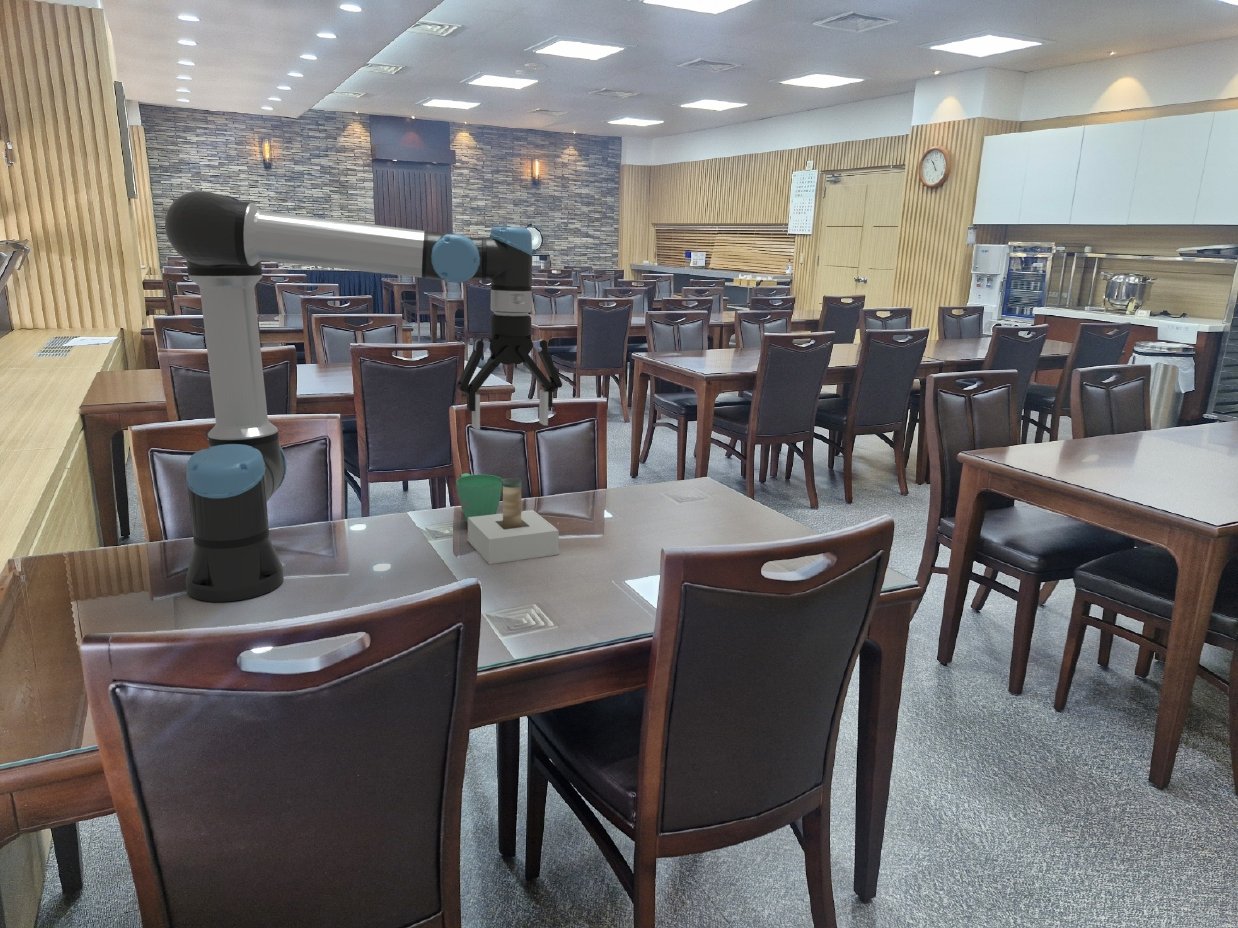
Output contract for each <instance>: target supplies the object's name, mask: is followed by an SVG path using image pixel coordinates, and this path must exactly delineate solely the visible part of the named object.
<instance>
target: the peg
mask: <svg viewBox="0 0 1238 928" xmlns="http://www.w3.org/2000/svg"><path fill="white" fill-rule="evenodd" d="M502 479H503V487H502V513H503V529H512V528H521V511H522V484H523V483H522V479H521V478H519V477H506V478H502Z"/></svg>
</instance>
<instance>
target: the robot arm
mask: <svg viewBox="0 0 1238 928" xmlns="http://www.w3.org/2000/svg"><path fill="white" fill-rule="evenodd" d="M164 229H165V235H166V237H167V240H168V241H169V243H170V245H171V246H172V249H174V251H175V252H177V253H178V254H179V256H181V257H182V258H184V260H186V268H187V276H188V278H189V279H190V280H191V281H193V282H194V283H195V284H196V285H197V286H198V287H199V294H200V302H201V309H202V317H203V318H202V319H203V326H204V333H205V334H204V335H205V336H204V337H205V344H206V349H207V350H206V351H207V352H206V353H207V359H208V369H209V375H210V376H209V377H210V385H211V393H212V394H211V395H212V403H213V410H214V411H213V412H214V417H215V419H214V421H215V425H214V426H213V427H212V428H211V429H210V430H209V431H208V432H207V440H208V448H204V449H200V450H198V451H196V452H195V453H193V454H192V455H191V456H190V457H189V458H188V460H187V463H186V474H185V482H186V485H187V491H188V493H187V494H188V501H189V511H190V520H191V528H192V529H191V530H192V538H193V540H192V541H193V549H192V553H191V557H190V560H189V565H188V567H187V572H186V576H185V588H186V593H187V595H188V596H190V597H191V598H193V599H196V600H200V601H203V602H213V603H214V602H215V603H216V602H218V603H220V602H223V603H225V602H234V601H235V602H236V601H241V600H242V601H243V600H248V599H251V598H257V597H259V596H262V595H265V594H267V593H269V592H271V591H274V590H276V589H277V588H279V586H281V585H282V583H283V582H284V567H283V565H282V562H281V560H280V558H279V556H278V554H277V551H276V549H275V547H274V545H273V543H272V540H271V537H270V530H269V529H270V528H269V527H270V526H269V525H270V524H269V515H268V514H269V513H268V501H269V500H270V499H271V498H272V497H273V495H274V494H275V493H276V492H277V490H279V488H280V487H281V486H282V484H283V482H284V480H285V478H286V476H285V475H286V474H287V458H286V454H285V452H284V450H283V448H282V447H281V445H280V438H279V437H280V436H279V430H278V427H277V426H276V425H275V424H273V423H271V421H270V420H269V419H268V409H267V408H268V407H267V400H266V399H267V397H266V389H265V379H264V369H263V360H262V350H261V349H262V348H261V341H260V331H259V321H258V320H259V319H258V310H257V301H256V292H255V287H256V285H257V283H258V282H259V281H260V280H261V279H262V278H263V277H264V276H263V266H262V261H264V262H265V261H266V262H271V263H272V262H273V263H284V264H291V265H302V266H314V267H321V268H329V269H331V268H332V269H340V270H349V271H358V272H366V273H376V274H383V275H394V276H404V277H413V278H414V277H415V278H423V279H430V280H438V281H446V282H448V283H453V284H458V283H459V284H462V283H465V282H467V281H469V280H482V281H490V311H491V312H493V313H492V314H491V315H490V338H489V341H487V340H486V341H485V340H480V339H475V340H473V344H472V345H473V346H472V352H471V355H470V356H469V359H468V361H467V362H466V365H465V366H464V368H463V370H462V372H461V375H460V378H459V379H458V381H457V383H456V389H458V390H459V391H460V392H464V393H465V394H466V408H467V410H468V411H469V412H471V427H472V428H473V429H475V430H481V394H479V393H477V392H478V390H479V389H480V388H481V387H482V386H483V385H484V383H485V382H486V381H487V379H488V378H489V377H490V376H491V375H492V373H493V372H494V371H495V370H496V369H497V368H498V367H499V366H500V365H501V364H502V365H505V366H507V365H511V364H514V365H521V364H523V365H524V366H525V367H526V368H527V369H528V370H529V372H530V373H531V375H532V376H533V377H534V378H535V379H536V381H537V382H538V383H539V384H540V386H541V387H542V388H543V389H540V390H539V407H538V408H539V409H538V410H539V411H538V412H539V413H538V417H539V419H538V423H539V424H541V425H543V426H549V408H552V406H553V402H554V401H553V399H554V398H553V394H554V392H555V391H556V389H558V388H559V389H561V388H562V387H563V382H562V380H561V377H560V375H559V374H558V373H559V372H557V369H556V367H555V365H554V362H553V360H552V357H551V356H550V353H549V348H548V342H547V340H545V339H542V338H538V339H537V340H532V317H531V315H529V313H531V312H532V295H533V294H532V293H533V292H532V291H533V290H532V288H533V287H532V285H533V242H532V241H533V239H532V238H533V237H532V232H531V231H530V230H529V229H528V228H525V227H516V226H515V227H514V226H513V227H512V226H493V227H492V228H490V234H489V236H486V237H477V236H476V237H475V236H466V235H464V234H459V233H444V232H437V231H436V232H435V231H425V230H420V229H412V228H405V227H398V226H397V227H396V226H395V227H394V226H389V225H388V226H387V225H381V224H380V225H378V224H371V223H364V222H354V221H347V220H340V219H329V218H321V217H313V216H306V215H301V214H300V215H299V214H291V213H284V212H283V213H282V212H281V213H280V212H274V211H273V212H272V211H266V210H265V211H264V210H261V209H260V208H259V207H258V206H257V204H255V203H254V202H249V201H246V202H245V201H242V200H240V199H238V198H236V197H233V196H231V195H224V194H219V193H215V192H211V191H204V190H194V191H190V192H187V193H184V194H182V195H180V196H179V197H177V198H176V199H175V200H174V201H173V202H172V203H171V204H170V205H169V208H168V209H167V211H166V213H165V219H164ZM533 348H534V350H535V351H536V352H537V353H538V357H539V358H540V361H541V362H542V366H543V367H544V369H545V372H546V374H547V376H548V378H549V379H548V378H547V377H546V376H545V374H544V373H543V372H542V371H541V369H540V367H538V366H537V364H536V363H535V360H534V359H533V358H532V357H531V355H530V353H531V352H532V350H533ZM487 349H489V351H490V352H491V354H490V356H489V358H488V359H487V361H486V363H485V364H484V365H483V367H482V368H481V369H480V370H479V371H478V372H477V374H476V375H475V376H474V374H475V371H476V370H477V367H478V366H479V364H480V362H481V359H482V357H483V355H484V354H485V353H486V352H487ZM473 376H474V377H473ZM472 378H473V379H472Z"/></svg>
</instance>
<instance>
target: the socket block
mask: <svg viewBox="0 0 1238 928" xmlns="http://www.w3.org/2000/svg"><path fill="white" fill-rule="evenodd" d="M559 532H560V531H559V530H558V528H556V527H555V526H554V525H553V524H551V523H550V522H549V521H547V520H546V519H545V518H543V516H541V515H540V514H539V513H537V512H536V511H535V510H533V509H529V510H521V528H512V529H503V512H502V513H496V514H493V515H484V516H475V517H468V523H467V541H468V543H469V544H470V545H471V546H472V547H473V548H474V549H475V551H477V552H478V553H479V555H480V556H481V557H482V558H483V559H484V560H485V561H486V562H487V563H488V565H495V564H500V563H501V564H502V563H509V562H516V561H523V560H529V559H536V558H544V557H545V558H546V557H550V556H558V555H559V545H560V544H559V539H560V537H559V535H560V533H559Z"/></svg>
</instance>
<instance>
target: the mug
mask: <svg viewBox="0 0 1238 928" xmlns="http://www.w3.org/2000/svg"><path fill="white" fill-rule="evenodd" d="M503 479H504V478H502V477H500V476H497V475H492V474H470V473H468V472H466V473H461V475H460V476H459V478H457V479H456V482H455V486H456V490H457V496H458V499H459V502H460V503H459V504H460V507H461V510H462V512H463V515H464V517H465V519H466V522H467V524H468V517H475V516H484V515H493V514H497V511H498V508H499V506H500V501H501V496H502V493H503Z"/></svg>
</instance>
